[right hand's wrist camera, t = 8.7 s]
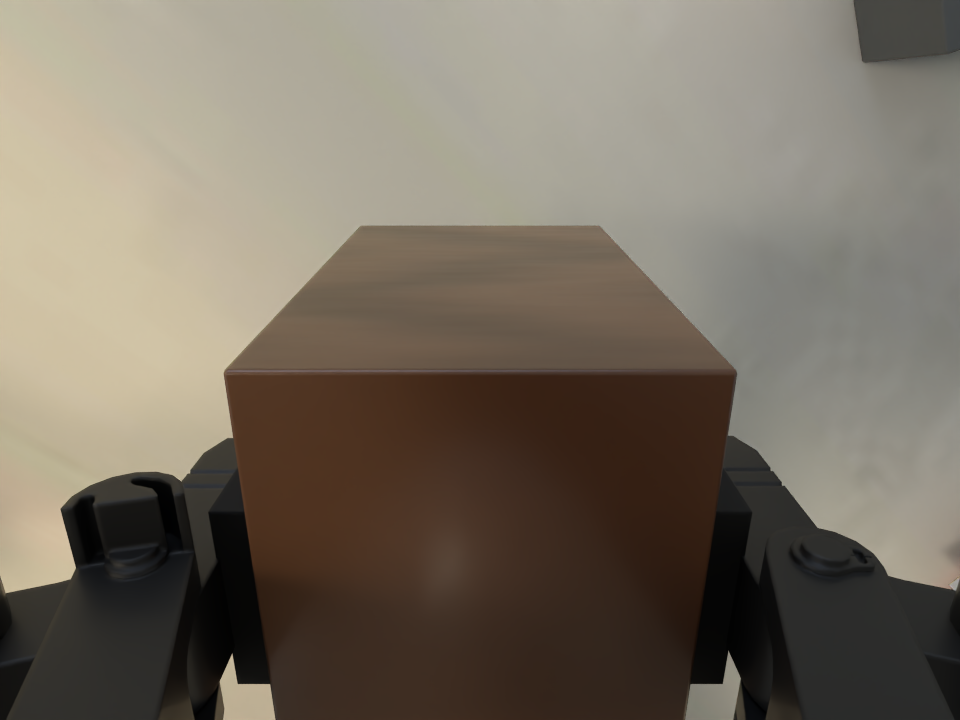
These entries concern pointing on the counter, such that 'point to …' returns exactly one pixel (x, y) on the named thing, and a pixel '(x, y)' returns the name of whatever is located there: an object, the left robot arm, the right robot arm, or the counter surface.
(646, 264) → the counter surface
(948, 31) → the grey block
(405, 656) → the plank
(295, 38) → the counter surface
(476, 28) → the counter surface
